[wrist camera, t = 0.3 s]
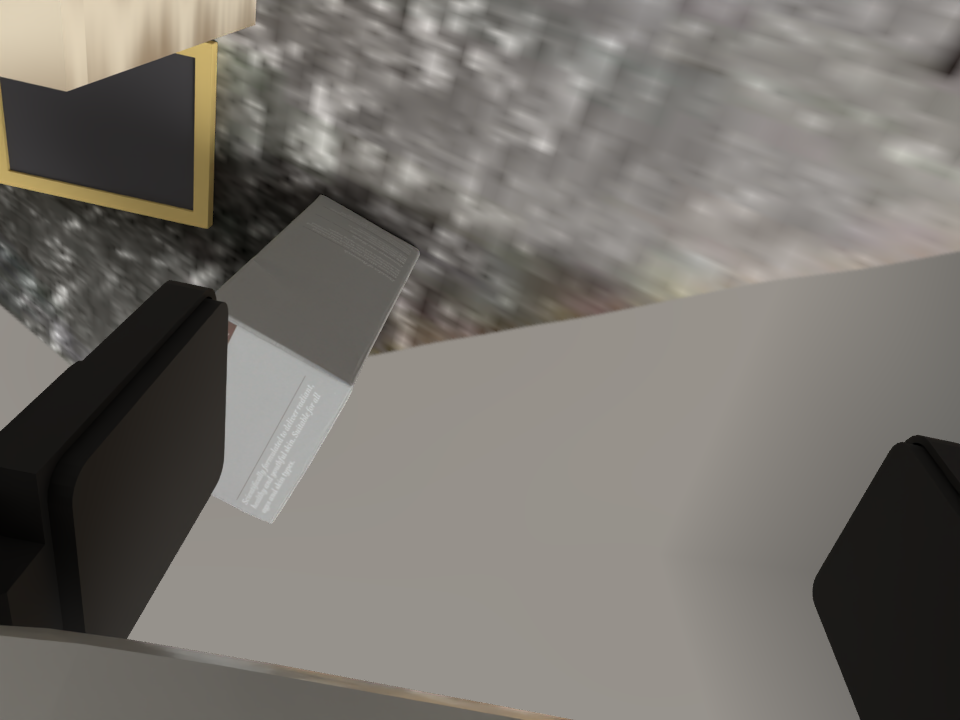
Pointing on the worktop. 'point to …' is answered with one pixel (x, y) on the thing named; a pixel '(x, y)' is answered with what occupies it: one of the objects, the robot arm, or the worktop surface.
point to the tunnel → (106, 35)
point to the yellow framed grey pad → (119, 138)
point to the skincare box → (300, 345)
